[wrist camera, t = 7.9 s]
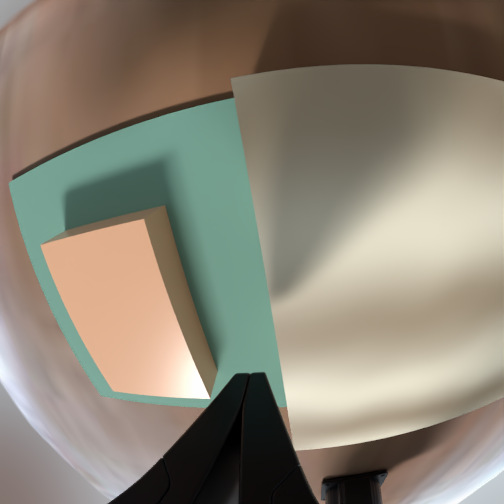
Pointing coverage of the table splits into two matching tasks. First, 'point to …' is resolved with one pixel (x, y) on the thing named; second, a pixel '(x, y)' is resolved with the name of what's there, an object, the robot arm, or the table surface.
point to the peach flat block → (133, 304)
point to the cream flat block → (379, 242)
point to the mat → (182, 224)
